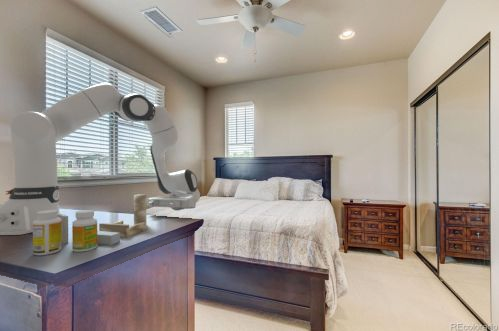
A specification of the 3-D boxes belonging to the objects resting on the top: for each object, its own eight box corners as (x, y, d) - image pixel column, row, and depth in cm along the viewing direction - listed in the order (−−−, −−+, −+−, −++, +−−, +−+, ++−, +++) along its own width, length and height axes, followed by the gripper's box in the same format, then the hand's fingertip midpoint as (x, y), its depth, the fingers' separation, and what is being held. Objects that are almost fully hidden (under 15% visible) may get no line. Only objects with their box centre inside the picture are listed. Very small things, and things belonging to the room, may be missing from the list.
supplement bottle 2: (85, 253, 61) (84, 213, 61) (66, 251, 62) (66, 212, 62) (102, 246, 66) (102, 209, 66) (85, 244, 67) (85, 209, 67)
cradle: (120, 227, 86) (120, 217, 86) (146, 229, 83) (146, 219, 83) (99, 235, 77) (99, 223, 77) (126, 237, 74) (126, 225, 74)
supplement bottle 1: (63, 247, 66) (63, 208, 66) (59, 253, 61) (59, 211, 61) (36, 250, 63) (35, 210, 63) (30, 258, 58) (29, 214, 58)
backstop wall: (85, 238, 73) (85, 230, 73) (119, 241, 70) (119, 232, 70) (75, 241, 70) (75, 232, 70) (111, 244, 67) (111, 235, 67)
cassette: (48, 237, 75) (47, 212, 75) (55, 236, 76) (55, 211, 76) (62, 245, 68) (62, 216, 68) (70, 243, 69) (70, 215, 69)
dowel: (132, 227, 85) (132, 195, 85) (135, 225, 89) (135, 194, 89) (145, 227, 86) (144, 195, 86) (147, 224, 90) (147, 194, 90)
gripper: (158, 192, 115) (137, 196, 102) (198, 193, 110) (183, 197, 97) (158, 206, 115) (138, 211, 102) (198, 208, 110) (183, 214, 97)
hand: (160, 205), depth 99 cm, fingers open, 8 cm apart
